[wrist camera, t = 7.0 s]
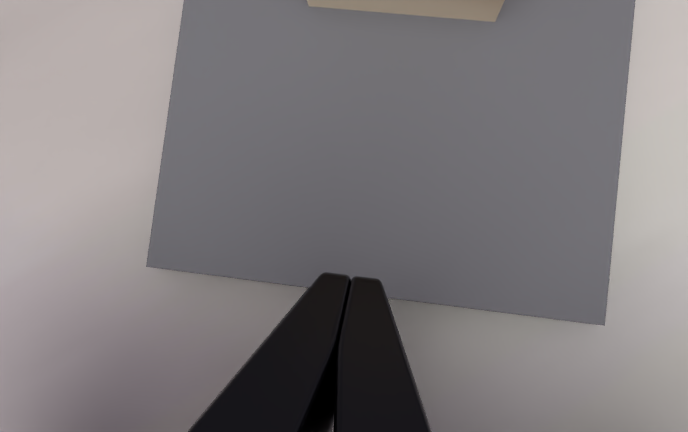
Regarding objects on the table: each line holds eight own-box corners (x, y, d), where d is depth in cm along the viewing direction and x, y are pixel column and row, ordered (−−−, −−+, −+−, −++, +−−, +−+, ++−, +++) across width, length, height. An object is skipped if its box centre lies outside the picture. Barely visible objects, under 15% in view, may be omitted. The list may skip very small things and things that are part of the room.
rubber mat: (596, 322, 15) (604, 325, 15) (155, 266, 16) (146, 266, 16) (651, -255, 16) (660, -275, 16) (231, -272, 17) (225, -291, 17)
